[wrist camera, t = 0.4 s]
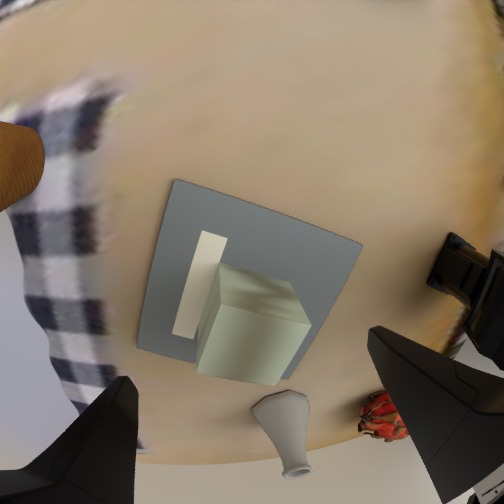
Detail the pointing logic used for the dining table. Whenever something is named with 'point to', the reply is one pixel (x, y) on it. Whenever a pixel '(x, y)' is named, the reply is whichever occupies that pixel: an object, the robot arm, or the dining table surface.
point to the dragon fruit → (382, 419)
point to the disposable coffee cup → (19, 162)
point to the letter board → (235, 254)
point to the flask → (286, 429)
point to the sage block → (249, 327)
